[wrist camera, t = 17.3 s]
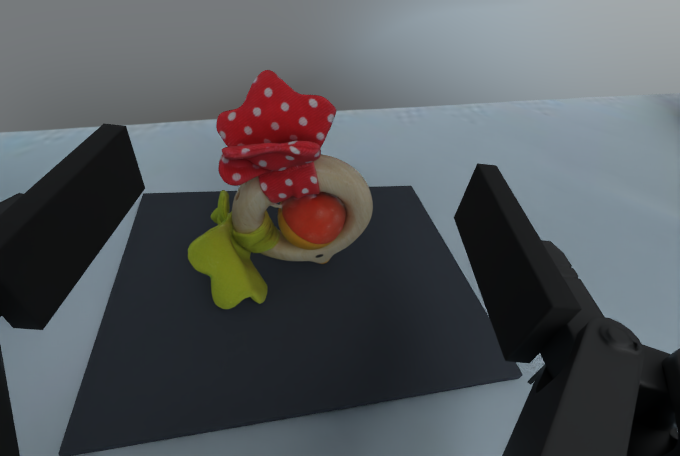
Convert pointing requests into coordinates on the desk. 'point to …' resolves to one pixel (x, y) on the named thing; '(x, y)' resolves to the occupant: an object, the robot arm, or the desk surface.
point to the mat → (277, 329)
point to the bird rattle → (278, 191)
